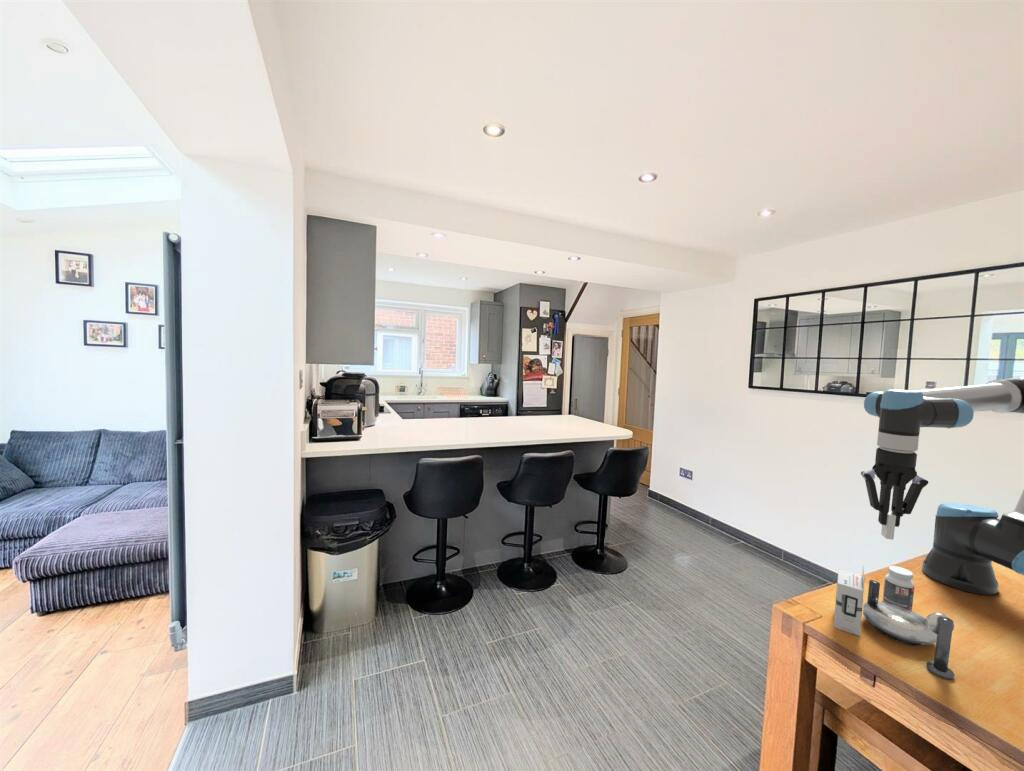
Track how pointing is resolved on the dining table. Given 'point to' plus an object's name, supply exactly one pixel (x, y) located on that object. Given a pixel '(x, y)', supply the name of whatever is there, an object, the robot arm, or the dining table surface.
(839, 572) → the ink box
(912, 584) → the pill bottle
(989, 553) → the robot arm
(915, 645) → the turntable base
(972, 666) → the dining table surface
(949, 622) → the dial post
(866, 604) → the silver round piece
